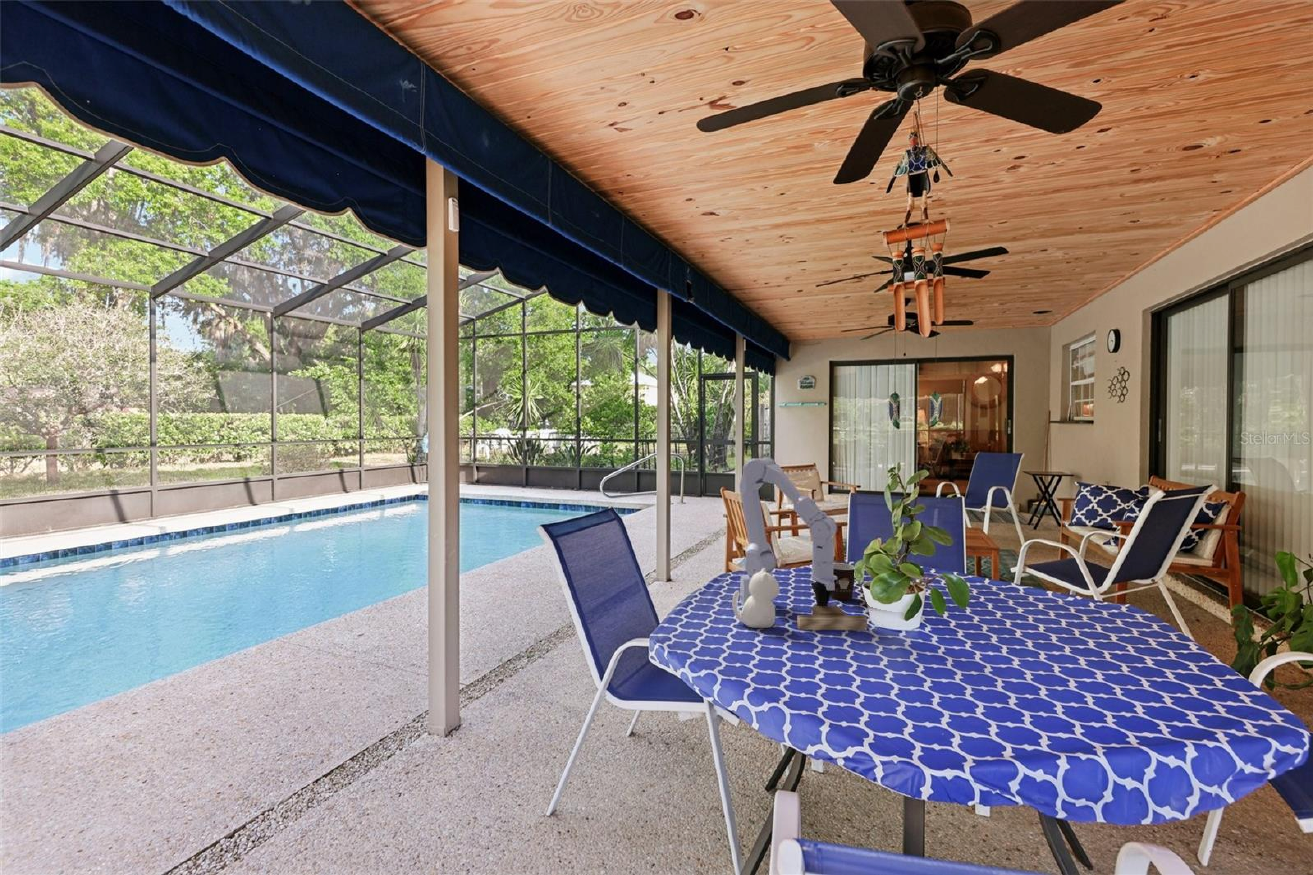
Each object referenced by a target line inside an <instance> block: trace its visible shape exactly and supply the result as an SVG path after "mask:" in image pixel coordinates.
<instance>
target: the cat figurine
mask: <svg viewBox="0 0 1313 875" xmlns="http://www.w3.org/2000/svg"><path fill="white" fill-rule="evenodd" d="M780 590H781V588H780V584H779V583H778V581H777V579H776V578H775V576H774V575H773V576H772V575H771V574H769V573H767V572H766V568H763V569H762V570H761V571H760V572H758V573H756V574H754V575H753V576H752V578H751V580H750V583H749V591H750V594H751V596H750V597H749V598H748V599H747V600H746V602H745V604H744V606H743V605H742V608H741V613H740V610H739V608H738V607H739V606H738V604H739V603H738V600H739V598H740V591H739V590H738V589H737V590H735V591H734V593H733V596H732V598H731V599H732V600H731V603H732V604H731V605H732V609H733V613H734V615H735V617H736V619H737V620H738V621H739V622H742V623H743V624H744V625H745V626H747V627H749V628H755V629H756V628H757V629H764V628H766V629H767V628H769V629H770V628H771V627H772V626H773V625H774V624H775V622H776V620H775V619H776V608H775V607H774V605H775V604H774V605H773V603H774V602H773V601H774V600H775V599H776V598H777V597H778V596H779V594H780ZM771 600H772V601H771ZM772 602H773V603H772Z"/></svg>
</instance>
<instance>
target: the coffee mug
mask: <svg viewBox="0 0 1313 875" xmlns="http://www.w3.org/2000/svg"><path fill="white" fill-rule="evenodd" d="M854 566H855V565H854V564H849V563H842V562H834V563H833V576H837V580H834V583H835V590H833V592H832V593H831V595H830V599H832V600H835V601H839V600H840V602H841V601H842V602H849V601H852V598H853V592H854V585H855V578H856V576H855V577H854Z"/></svg>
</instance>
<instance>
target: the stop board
mask: <svg viewBox="0 0 1313 875" xmlns="http://www.w3.org/2000/svg"><path fill="white" fill-rule="evenodd" d="M796 617H797V618H796V624H797V625H796V627H797V629H799V631H821V630H822V631H867V630H868V618H867V617H866V615H845V616H812V615H800V614H799V615H797V616H796Z"/></svg>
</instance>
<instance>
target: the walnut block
mask: <svg viewBox="0 0 1313 875" xmlns="http://www.w3.org/2000/svg"><path fill="white" fill-rule="evenodd" d="M811 610H812V612H811V614H812V615H811V616H846V612H845V611H844V610H843V609H842V608H840V607H839V606H838V605H827V606H817V605H812V608H811Z"/></svg>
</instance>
